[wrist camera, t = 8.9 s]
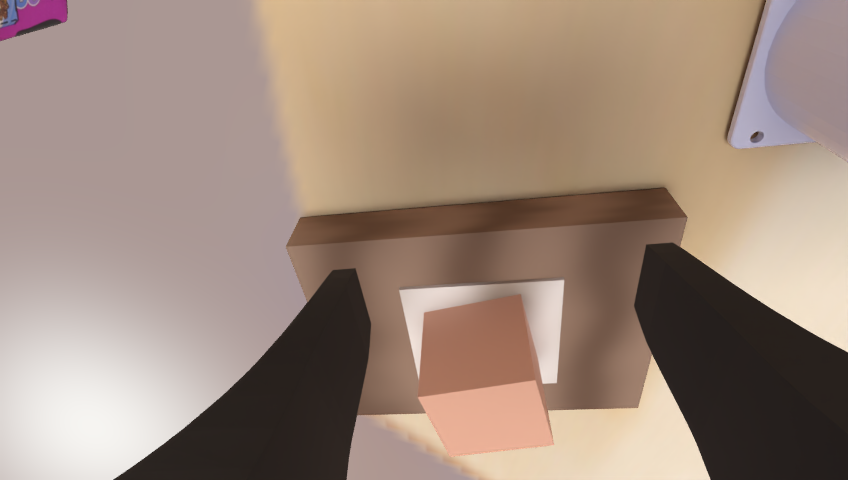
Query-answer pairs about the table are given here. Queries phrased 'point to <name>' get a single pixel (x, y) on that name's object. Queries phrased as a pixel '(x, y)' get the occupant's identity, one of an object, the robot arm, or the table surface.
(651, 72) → the table surface
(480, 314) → the terracotta cube
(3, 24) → the candy bar box
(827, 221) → the table surface
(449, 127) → the table surface
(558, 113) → the table surface
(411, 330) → the walnut plinth
